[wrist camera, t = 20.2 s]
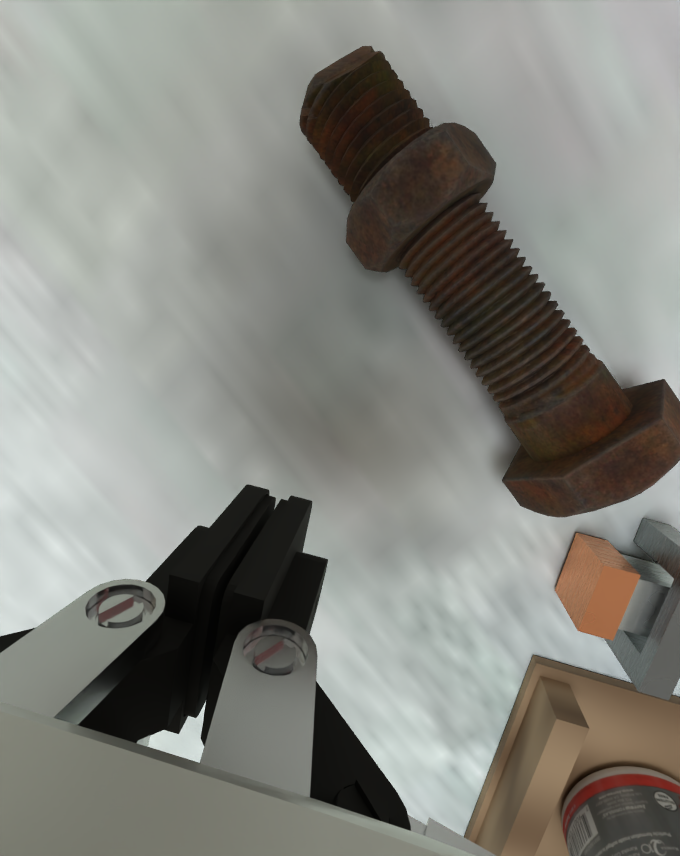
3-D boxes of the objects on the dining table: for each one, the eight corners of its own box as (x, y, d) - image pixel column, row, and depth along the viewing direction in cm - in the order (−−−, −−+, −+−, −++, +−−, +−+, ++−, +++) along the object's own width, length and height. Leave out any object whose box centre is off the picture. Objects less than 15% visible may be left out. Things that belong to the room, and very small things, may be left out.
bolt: (365, 125, 18) (584, 435, 19) (260, 180, 17) (501, 513, 17) (432, -42, 12) (742, 410, 13) (282, 20, 11) (639, 523, 12)
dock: (533, 655, 19) (552, 705, 17) (834, 742, 18) (906, 810, 16) (454, 861, 22) (460, 933, 20) (712, 948, 21) (755, 1036, 18)
